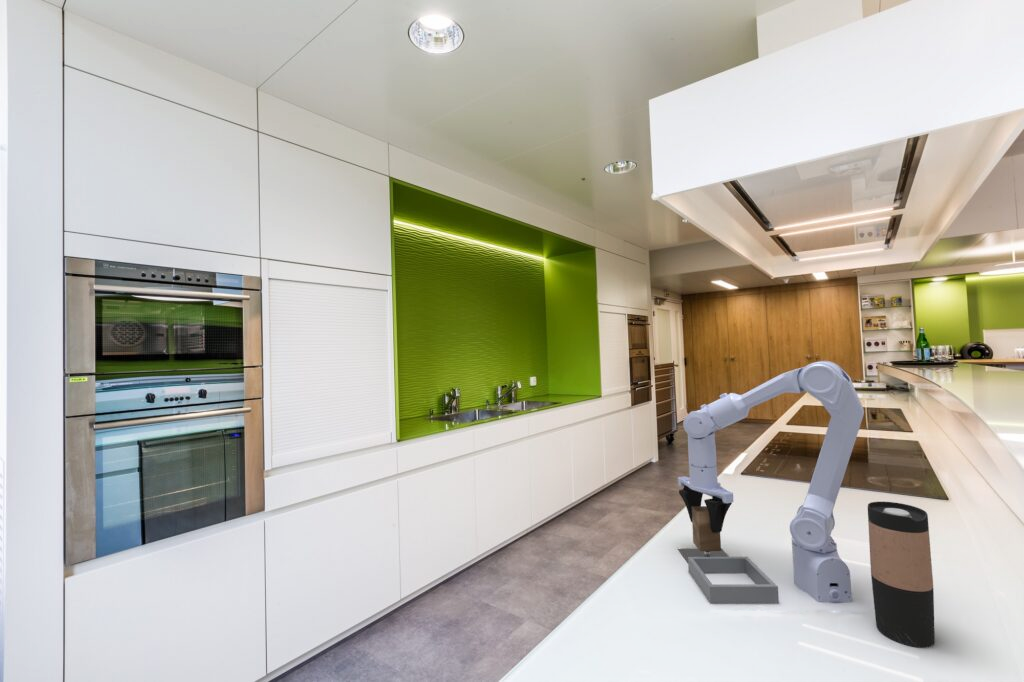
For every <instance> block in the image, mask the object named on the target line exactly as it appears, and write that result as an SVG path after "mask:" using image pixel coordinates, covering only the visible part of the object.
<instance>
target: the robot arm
mask: <svg viewBox="0 0 1024 682" xmlns="http://www.w3.org/2000/svg"><path fill="white" fill-rule="evenodd" d="M803 392H805V393H807V394H809V395H810V396H812V397H813V398H815V399H816V400H818V401H819V402H820V404H821V405H822V406H823V407H824V409H825V410H826V411H827V412H828V414H829V415H830V419H829V423H828V425H827V429H826V432H825V435H824V438H823V443H822V445H821V449H820V452H819V455H818V458H817V461H816V464H815V467H814V470H813V473H812V476H811V481H810V484H809V487H808V490H807V493H806V496H805V498H804V501H803V503H802V504H801V505H800V506H799V507H798V509H797V512H796V515H794V517H793V519H792V520H791V521H790V523H789V533H790V536H791V550H792V551H791V553H792V571H793V583H794V585H795V586H796V588H798V589H799V590H802V591H803V592H805V593H807V594H808V595H809V597H811V598H812V599H813V600H815V601H816V602H817V603H853V600H852V599H853V598H852V597H853V596H852V585H851V584H852V583H851V582H852V581H851V572H850V571H851V570H850V568H849V566H848V565H847V563H846V562H844V560H843V559H842V558H841V557H840V555H839V552H838V549H837V548H838V547H837V545H838V544H837V542H836V541H835V540H834V539H833V537H832V536H831V535H832V532H833V530H834V528H835V525H836V522H835V516H834V508H835V505H836V502H837V498H838V495H839V493H840V489H841V486H842V483H843V480H844V477H845V473H846V470H847V467H848V464H849V461H850V458H851V455H852V452H853V449H854V446H855V443H856V440H857V436H858V434H859V430H860V427H861V423H862V422H863V418H864V414H865V409H864V407H863V405H862V402H861V399H860V398H859V396H858V393H857V391H856V389H855V387H854V384H853V381H852V378H851V377H850V376H849V374H848V373H847V372H846V371H845V370H843V368H842V367H841V366H839V364H837V363H835V362H833V361H829V360H819V361H816V362H811V363H809V364H808V365H806V366H803V367H799V368H795V369H792V370H789V371H787V372H783V373H781V374H779V375H777V376H775V377H774V378H771V379H769V380H767V381H766V382H764V383H761V384H760V385H757V386H756V387H754V388H752V389H751V390H749V391H747V392H745V393H743V394H737V393H735V392H730V393H729V394H728V393H727V392H725V393H722V394H720V395H719V398H718V399H717V400H715V401H712V402H711V403H708V404H706V403H704V404H702V405H700V406H699V407H700V409H699V410H692V411H690V412H689V413H688V414H687V415H686V416H685V417H684V418H683V423H682V427H683V430H684V432H685V433H686V434H687V454H688V470H689V471H688V472H689V473H688V474H689V475H688V476H689V477H688V476H684V475H683V476H679V477H677V483H678V484H677V485H678V486H679V487H683V488H682V489H679V490H678V494H679V495H680V497H681V499H682V500H683V502H684V505H685V507H686V510H687V512H688V516H689V521H690V522H691V523H692V506H702V501H704V503H705V506H707V509H708V512H709V517H710V525H711V530H712V532H713V533H717V532H720V533H721V532H722V530H723V525H724V521H725V517H726V515H727V512H728V510H729V509H730V507H731V505H732V503H734V501H735V500H734V493H733V492H732V491H729V490H727V489H726V488H724V487H723V486H722V485H721V482H719V481H718V468H717V467H718V466H717V465H718V463H717V445H716V434H715V433H716V431H717V430H722V429H723V428H727V427H728V426H730V425H733V424H735V423H737V422H740V421H741V420H743V419H746V418H747V417H748V416H749V412H750V410H751V408H753V407H756V406H758V405H760V404H762V403H764V402H767V401H769V400H771V399H773V398H775V397H777V396H781V395H782V394H785V393H788V394H789V393H793V394H802V393H803ZM703 495H707V496H709V497H711V498H708V499H704V500H702V499H703Z"/></svg>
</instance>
